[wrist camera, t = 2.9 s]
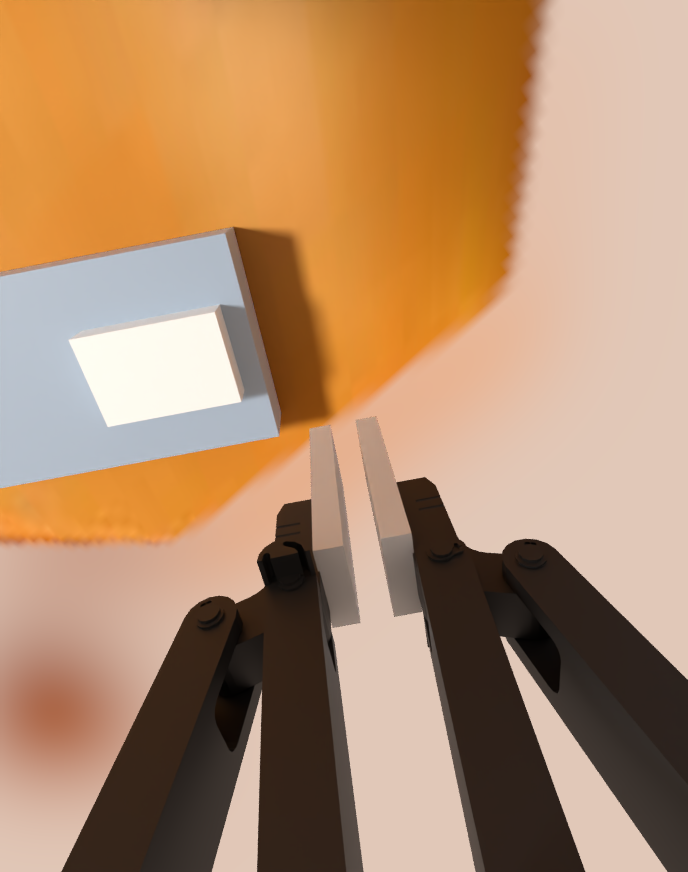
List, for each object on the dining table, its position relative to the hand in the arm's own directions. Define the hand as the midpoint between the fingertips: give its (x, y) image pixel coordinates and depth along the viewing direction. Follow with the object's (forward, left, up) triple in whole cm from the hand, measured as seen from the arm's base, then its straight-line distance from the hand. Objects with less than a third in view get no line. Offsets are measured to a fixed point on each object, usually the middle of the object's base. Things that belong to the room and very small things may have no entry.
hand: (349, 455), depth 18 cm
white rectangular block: (-11, 0, -16) cm, 20 cm away
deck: (-16, 0, -20) cm, 26 cm away
